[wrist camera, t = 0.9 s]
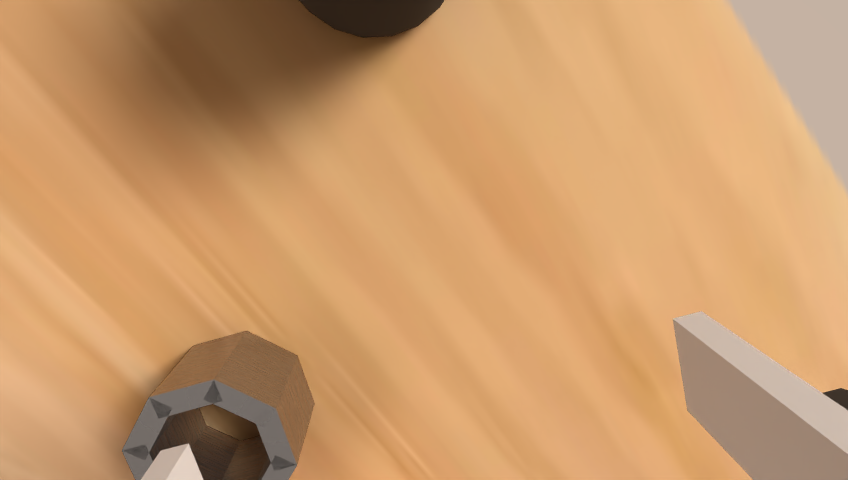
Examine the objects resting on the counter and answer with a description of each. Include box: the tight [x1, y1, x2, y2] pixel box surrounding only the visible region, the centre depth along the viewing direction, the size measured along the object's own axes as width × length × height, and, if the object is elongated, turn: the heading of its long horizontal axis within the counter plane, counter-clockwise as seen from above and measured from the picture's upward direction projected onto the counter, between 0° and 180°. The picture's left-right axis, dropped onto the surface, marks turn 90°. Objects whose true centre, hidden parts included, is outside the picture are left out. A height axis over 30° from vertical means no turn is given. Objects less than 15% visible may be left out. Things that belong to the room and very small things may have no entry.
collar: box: [122, 331, 314, 480], centre depth 36 cm, size 9×9×7 cm
